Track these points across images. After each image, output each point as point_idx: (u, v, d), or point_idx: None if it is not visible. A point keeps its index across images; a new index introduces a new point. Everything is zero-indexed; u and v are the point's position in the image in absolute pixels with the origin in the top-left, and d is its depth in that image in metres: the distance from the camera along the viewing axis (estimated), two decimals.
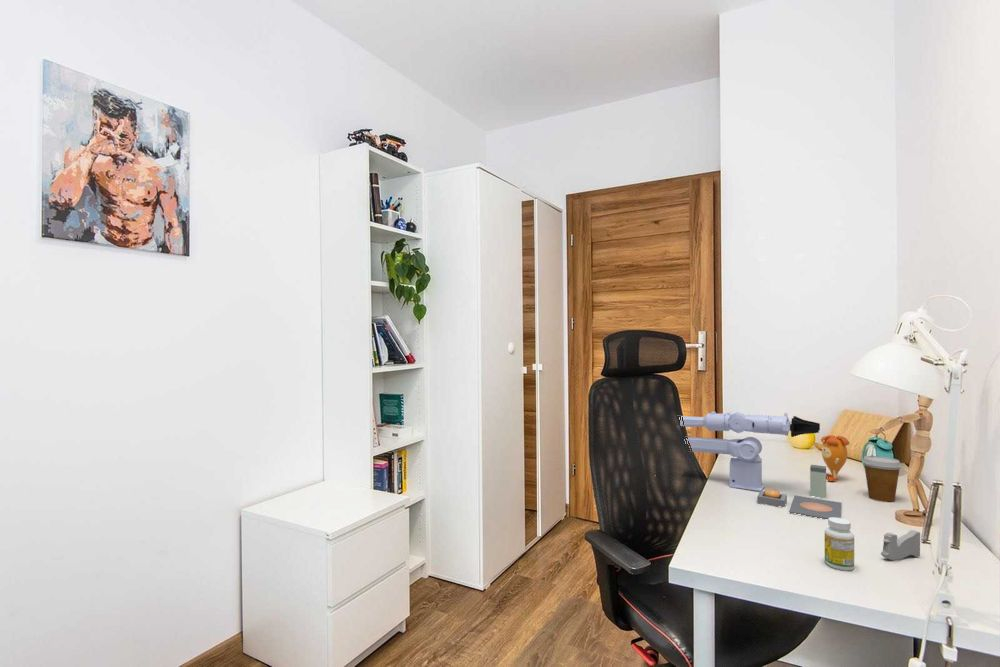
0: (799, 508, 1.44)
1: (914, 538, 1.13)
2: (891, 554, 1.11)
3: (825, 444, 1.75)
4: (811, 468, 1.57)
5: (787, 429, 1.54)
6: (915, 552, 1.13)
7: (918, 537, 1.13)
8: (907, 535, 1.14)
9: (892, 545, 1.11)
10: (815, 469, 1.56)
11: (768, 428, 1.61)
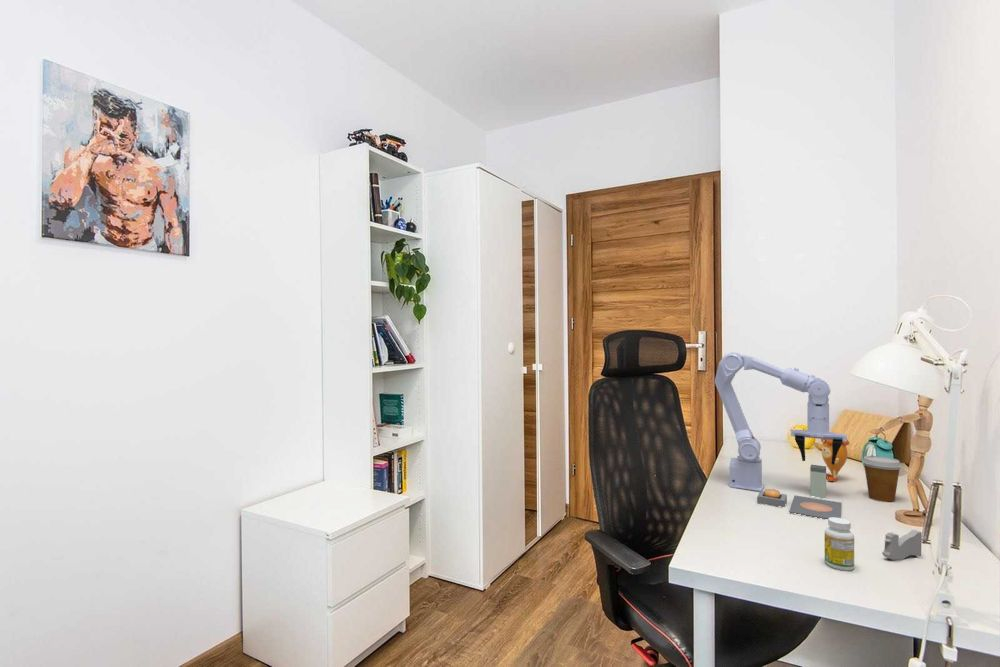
0: (799, 508, 1.44)
1: (916, 538, 1.13)
2: (892, 554, 1.11)
3: (825, 444, 1.75)
4: (811, 468, 1.56)
5: (846, 439, 1.53)
6: (916, 552, 1.13)
7: (919, 537, 1.14)
8: (908, 535, 1.14)
9: (893, 545, 1.12)
10: (815, 469, 1.56)
11: (828, 419, 1.55)
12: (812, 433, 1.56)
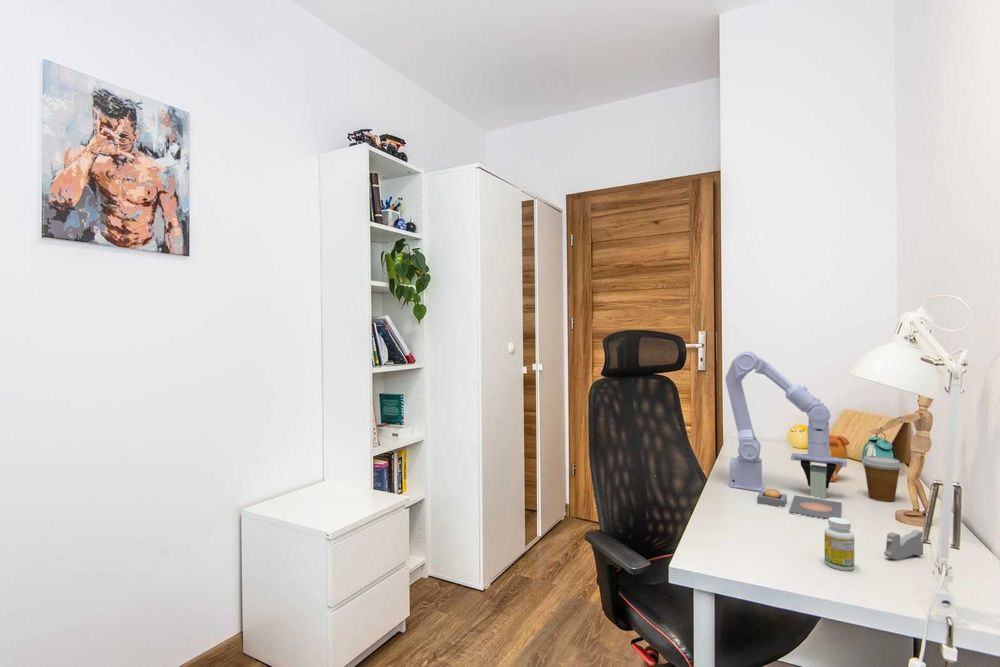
0: (799, 508, 1.44)
1: (917, 538, 1.13)
2: (894, 554, 1.12)
3: None
4: (811, 468, 1.57)
5: (846, 464, 1.53)
6: (918, 552, 1.13)
7: None
8: (910, 535, 1.14)
9: (895, 545, 1.12)
10: (815, 469, 1.56)
11: (828, 444, 1.55)
12: (812, 458, 1.56)
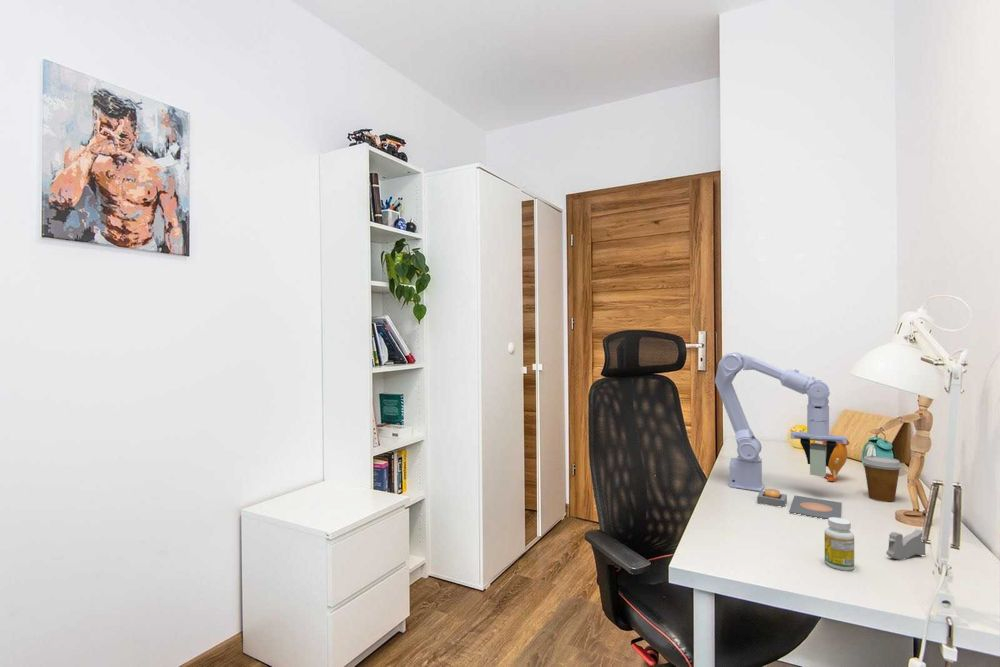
0: (799, 508, 1.44)
1: (919, 538, 1.14)
2: (896, 553, 1.12)
3: None
4: (811, 446, 1.56)
5: (846, 441, 1.52)
6: (920, 551, 1.14)
7: None
8: (912, 534, 1.14)
9: (897, 544, 1.12)
10: (815, 447, 1.55)
11: (828, 421, 1.54)
12: (812, 435, 1.55)
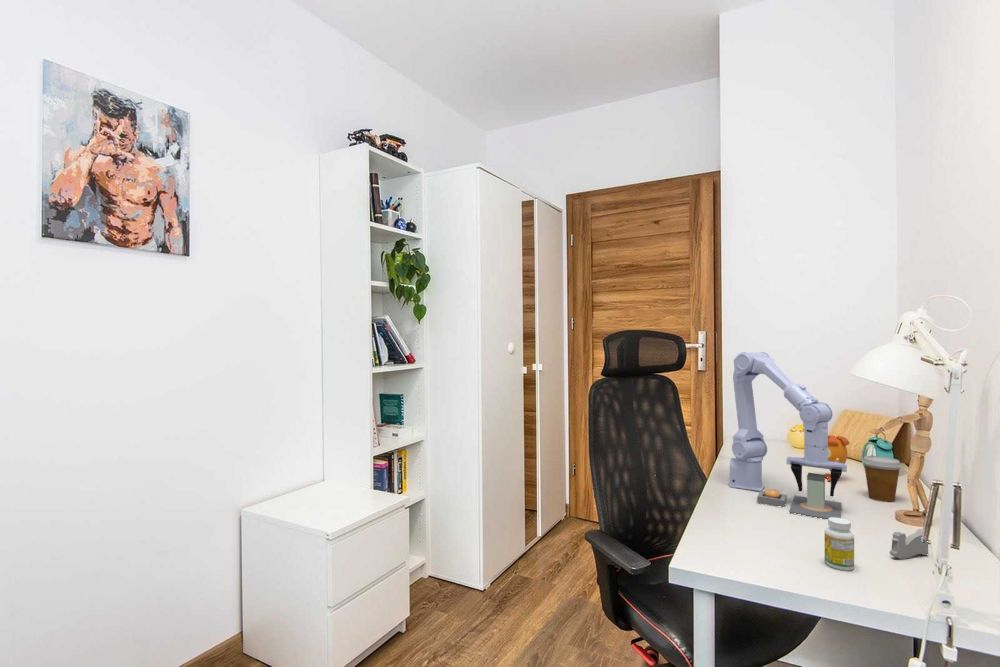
0: (799, 508, 1.44)
1: None
2: (900, 553, 1.12)
3: None
4: (808, 476, 1.45)
5: (846, 469, 1.41)
6: (923, 551, 1.14)
7: None
8: (915, 534, 1.14)
9: (901, 544, 1.12)
10: (812, 477, 1.44)
11: (826, 447, 1.43)
12: (809, 462, 1.44)
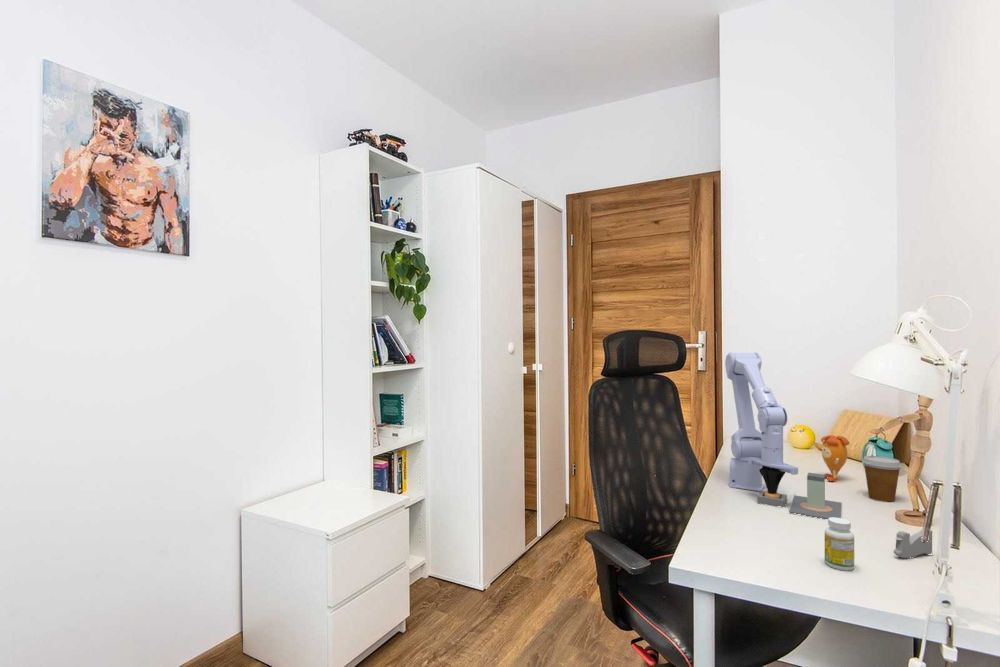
0: (799, 508, 1.44)
1: None
2: (904, 552, 1.12)
3: (825, 444, 1.75)
4: (808, 476, 1.45)
5: (794, 472, 1.44)
6: (927, 550, 1.14)
7: (930, 535, 1.14)
8: (919, 533, 1.15)
9: (905, 543, 1.12)
10: (812, 477, 1.44)
11: (778, 449, 1.48)
12: (762, 462, 1.51)
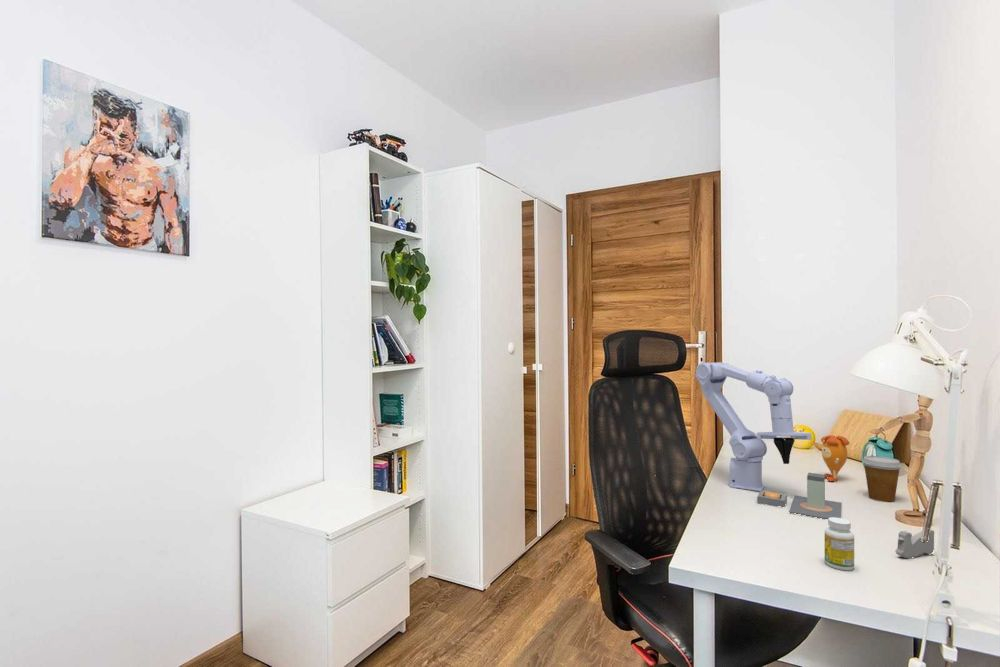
0: (799, 508, 1.44)
1: None
2: (906, 552, 1.12)
3: (825, 444, 1.75)
4: (808, 476, 1.45)
5: (811, 437, 1.51)
6: (929, 550, 1.14)
7: (932, 535, 1.15)
8: (921, 533, 1.15)
9: (907, 543, 1.13)
10: (812, 477, 1.44)
11: (791, 418, 1.54)
12: (776, 434, 1.55)
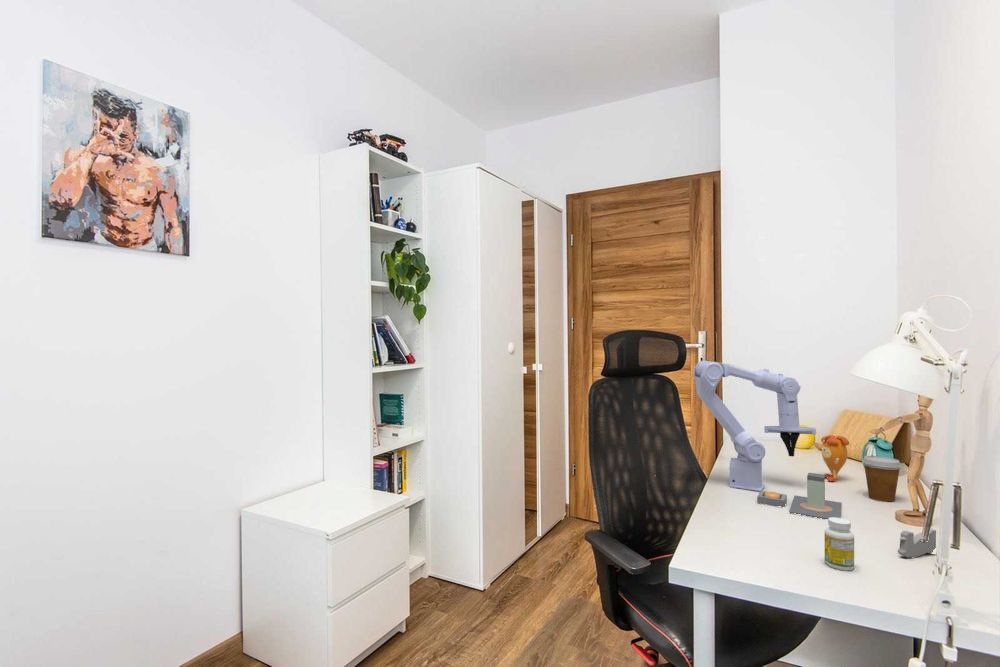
0: (799, 508, 1.44)
1: (930, 536, 1.14)
2: (908, 552, 1.13)
3: (825, 444, 1.75)
4: (808, 476, 1.45)
5: (815, 432, 1.61)
6: (931, 550, 1.14)
7: (934, 535, 1.15)
8: None
9: (909, 543, 1.13)
10: (812, 477, 1.44)
11: (797, 414, 1.63)
12: (783, 429, 1.64)
